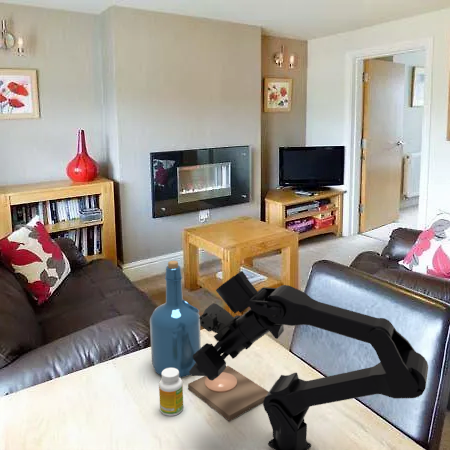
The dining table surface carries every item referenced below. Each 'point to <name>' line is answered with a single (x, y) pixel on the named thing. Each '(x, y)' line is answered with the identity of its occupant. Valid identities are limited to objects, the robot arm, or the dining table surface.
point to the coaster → (222, 383)
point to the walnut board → (230, 395)
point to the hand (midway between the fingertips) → (201, 363)
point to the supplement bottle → (171, 392)
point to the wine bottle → (174, 328)
